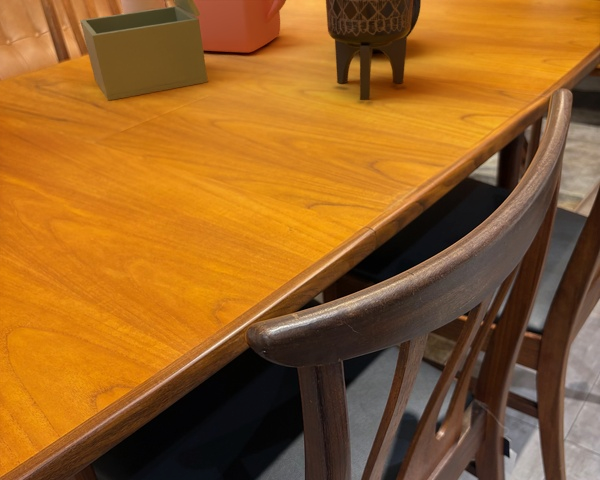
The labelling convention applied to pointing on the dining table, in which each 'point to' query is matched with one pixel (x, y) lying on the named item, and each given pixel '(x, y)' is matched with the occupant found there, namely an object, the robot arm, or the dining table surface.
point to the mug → (141, 5)
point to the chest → (145, 51)
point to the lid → (188, 6)
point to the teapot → (238, 23)
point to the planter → (369, 35)
